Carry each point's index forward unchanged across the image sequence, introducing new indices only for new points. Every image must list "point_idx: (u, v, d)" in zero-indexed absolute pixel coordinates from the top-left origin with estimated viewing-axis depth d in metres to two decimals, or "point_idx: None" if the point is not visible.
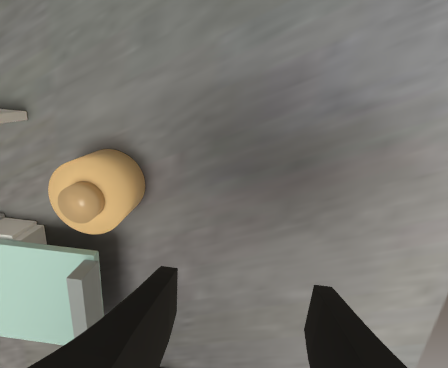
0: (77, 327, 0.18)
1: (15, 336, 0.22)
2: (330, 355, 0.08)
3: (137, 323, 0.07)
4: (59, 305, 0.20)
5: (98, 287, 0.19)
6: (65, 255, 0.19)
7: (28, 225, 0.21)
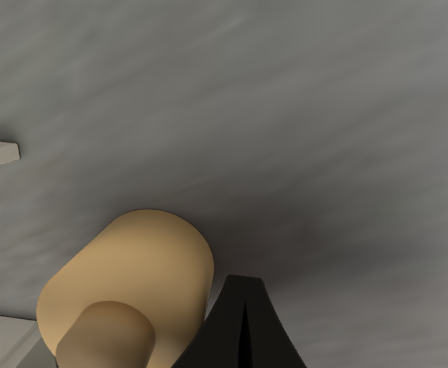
0: None
1: None
2: (243, 343, 0.08)
3: (237, 337, 0.06)
4: None
5: None
6: None
7: (22, 333, 0.12)
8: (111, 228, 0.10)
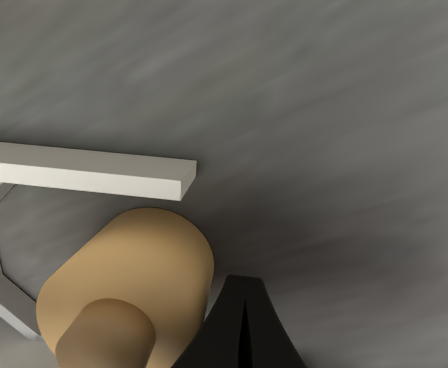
0: None
1: None
2: (243, 343, 0.08)
3: (237, 337, 0.06)
4: None
5: None
6: None
7: None
8: (112, 225, 0.09)
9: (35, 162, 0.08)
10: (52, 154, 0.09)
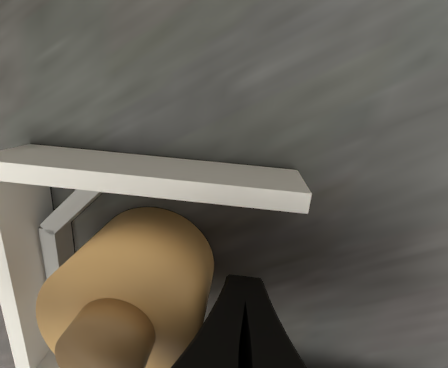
0: None
1: None
2: (243, 343, 0.08)
3: (238, 337, 0.06)
4: None
5: None
6: None
7: None
8: (113, 225, 0.09)
9: (151, 173, 0.08)
10: (156, 163, 0.09)
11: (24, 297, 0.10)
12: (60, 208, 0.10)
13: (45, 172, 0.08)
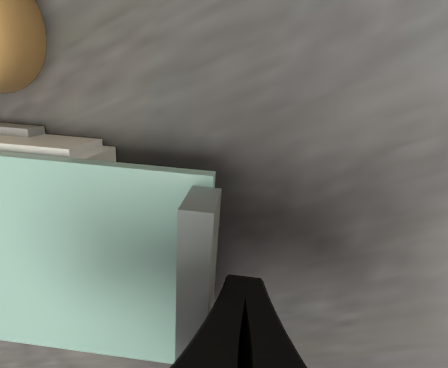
0: (186, 324, 0.09)
1: (43, 342, 0.12)
2: (243, 343, 0.08)
3: (237, 337, 0.06)
4: (130, 284, 0.11)
5: (217, 244, 0.10)
6: (152, 177, 0.09)
7: (90, 141, 0.12)
8: None
9: None
10: None
11: None
12: None
13: None
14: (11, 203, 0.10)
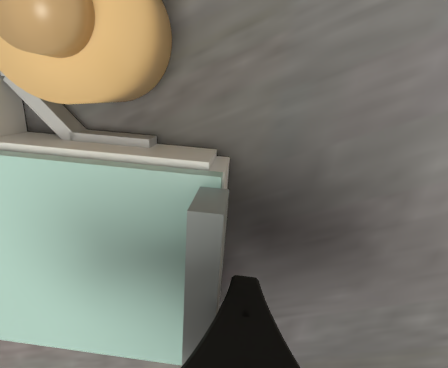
0: (193, 326, 0.09)
1: (47, 342, 0.12)
2: None
3: (245, 338, 0.06)
4: (136, 285, 0.11)
5: (224, 245, 0.10)
6: (160, 178, 0.09)
7: (212, 152, 0.11)
8: None
9: None
10: None
11: None
12: None
13: None
14: (17, 203, 0.10)
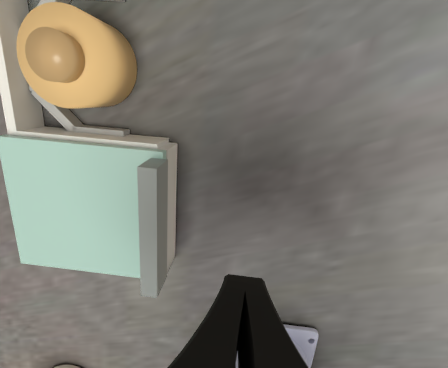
0: (145, 236, 0.15)
1: (58, 265, 0.19)
2: (244, 343, 0.08)
3: (235, 337, 0.06)
4: (115, 222, 0.17)
5: (166, 193, 0.16)
6: (127, 153, 0.16)
7: (164, 139, 0.18)
8: None
9: None
10: None
11: (11, 71, 0.16)
12: None
13: None
14: (41, 169, 0.16)
